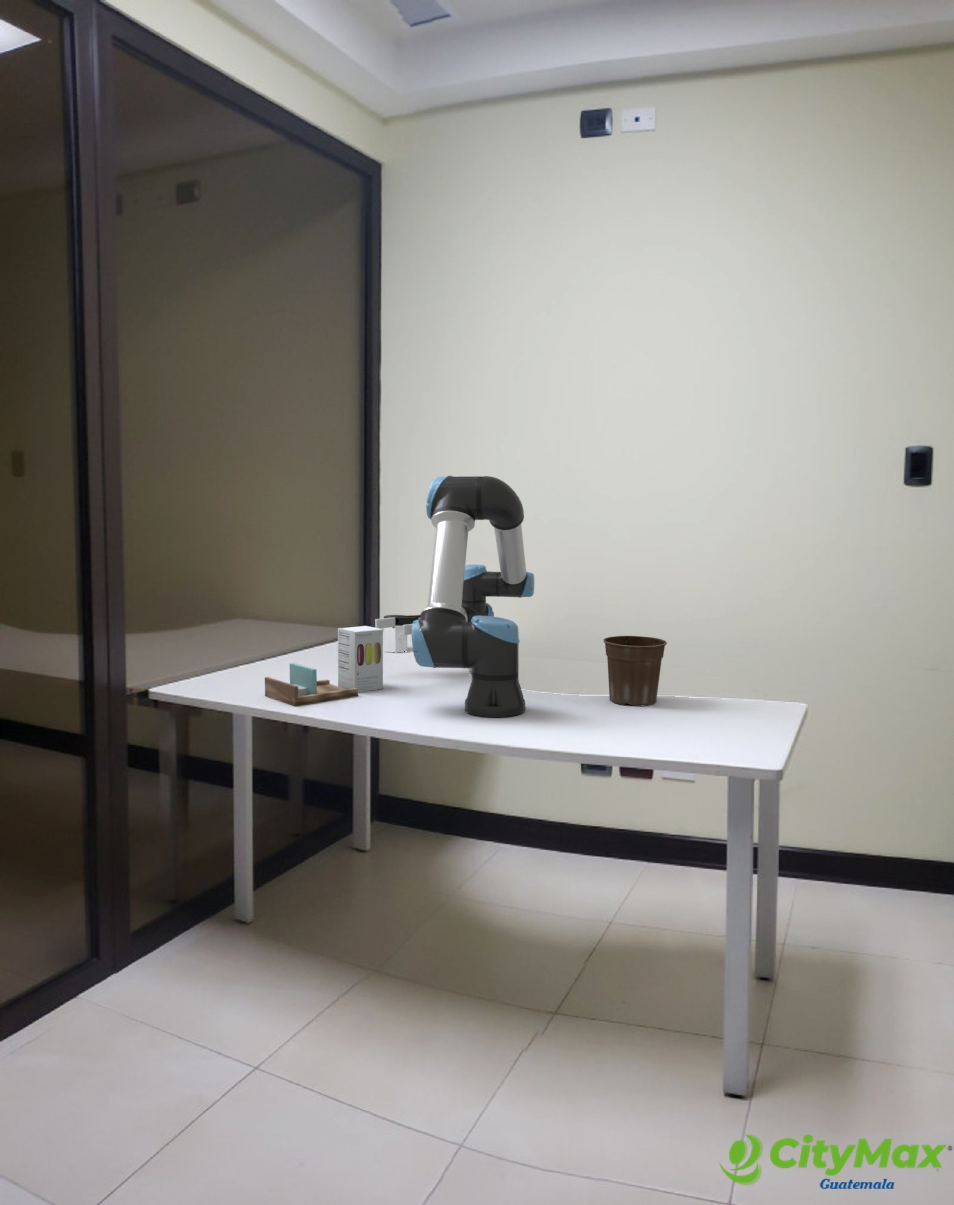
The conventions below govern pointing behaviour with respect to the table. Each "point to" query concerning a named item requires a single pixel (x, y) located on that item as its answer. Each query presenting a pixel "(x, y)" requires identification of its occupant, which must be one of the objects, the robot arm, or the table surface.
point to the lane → (290, 695)
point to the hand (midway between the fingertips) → (389, 627)
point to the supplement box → (360, 658)
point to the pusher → (303, 679)
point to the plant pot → (634, 668)
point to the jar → (394, 638)
